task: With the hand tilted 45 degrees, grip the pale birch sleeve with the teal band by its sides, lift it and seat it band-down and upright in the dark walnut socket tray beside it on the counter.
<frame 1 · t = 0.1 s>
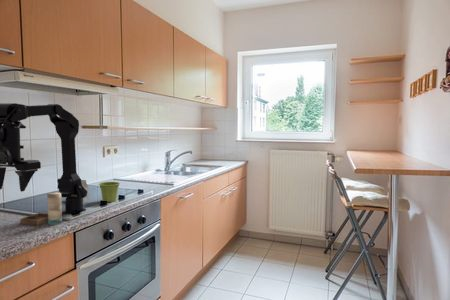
hand: (10, 190, 95), 15 cm above the worktop, tool pointing down, fingers open, 9 cm apart
walnut socket tray: (38, 221, 110), on the worktop
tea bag: (80, 200, 144), on the worktop
plant pot: (109, 201, 143), on the worktop
birch sleeve: (55, 223, 108), on the worktop
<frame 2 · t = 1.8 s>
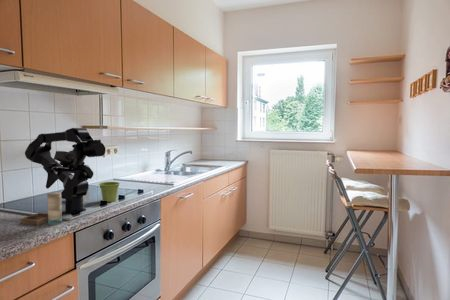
hand: (57, 188, 109), 13 cm above the worktop, tool tilted 45°, fingers open, 9 cm apart
nothing on the worktop moved.
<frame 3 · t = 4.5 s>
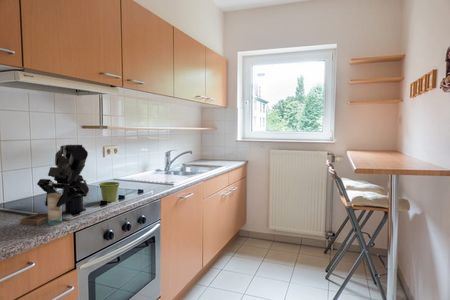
hand: (51, 206, 107), 7 cm above the worktop, tool tilted 45°, fingers closed on birch sleeve, 4 cm apart
birch sleeve: (55, 223, 108), on the worktop, touching gripper
everything else where it was.
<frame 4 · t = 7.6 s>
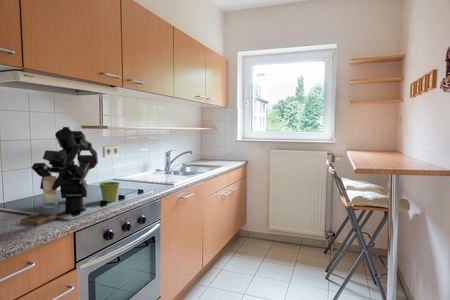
hand: (47, 189, 107), 13 cm above the worktop, tool tilted 45°, fingers closed on birch sleeve, 4 cm apart
birch sleeve: (50, 206, 109), point 6 cm above the worktop, touching gripper
everything else where it was.
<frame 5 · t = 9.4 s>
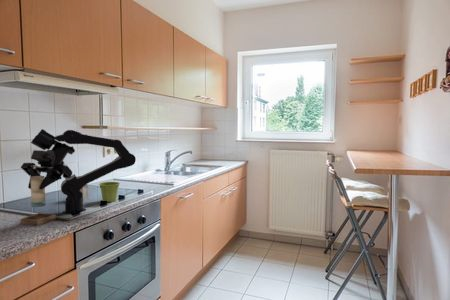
hand: (34, 188, 108), 13 cm above the worktop, tool tilted 45°, fingers closed on birch sleeve, 4 cm apart
birch sleeve: (38, 205, 110), point 6 cm above the worktop, touching gripper
everything else where it was.
when the fingers open (8 cm above the worktop, at t = 11.0 s): birch sleeve stays where it is, resting on walnut socket tray.
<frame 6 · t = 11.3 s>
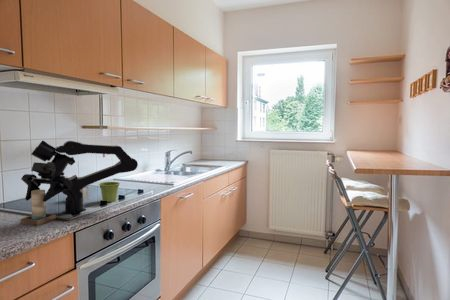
hand: (35, 200, 108), 8 cm above the worktop, tool tilted 45°, fingers open, 7 cm apart
birch sleeve: (38, 219, 110), point 1 cm above the worktop, touching walnut socket tray
everything else where it was.
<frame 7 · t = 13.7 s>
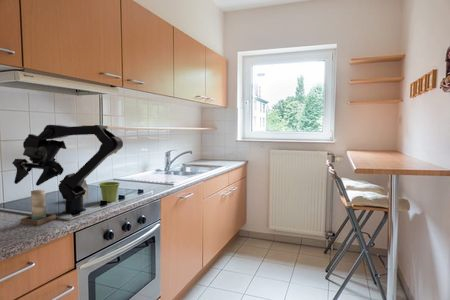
hand: (25, 184, 110), 14 cm above the worktop, tool tilted 45°, fingers open, 9 cm apart
nothing on the worktop moved.
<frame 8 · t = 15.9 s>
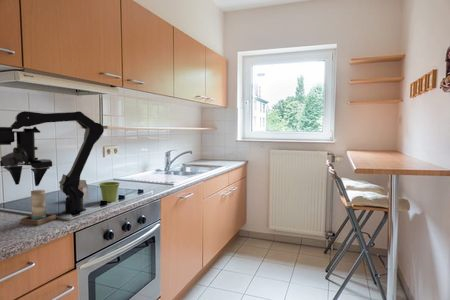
hand: (27, 185, 113), 13 cm above the worktop, tool pointing down, fingers open, 9 cm apart
nothing on the worktop moved.
at the end: birch sleeve 0.1 cm off-centre on the walnut socket tray, point 0.6 cm above the walnut socket tray's base; birch sleeve tilted 0°; the gripper is holding nothing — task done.
